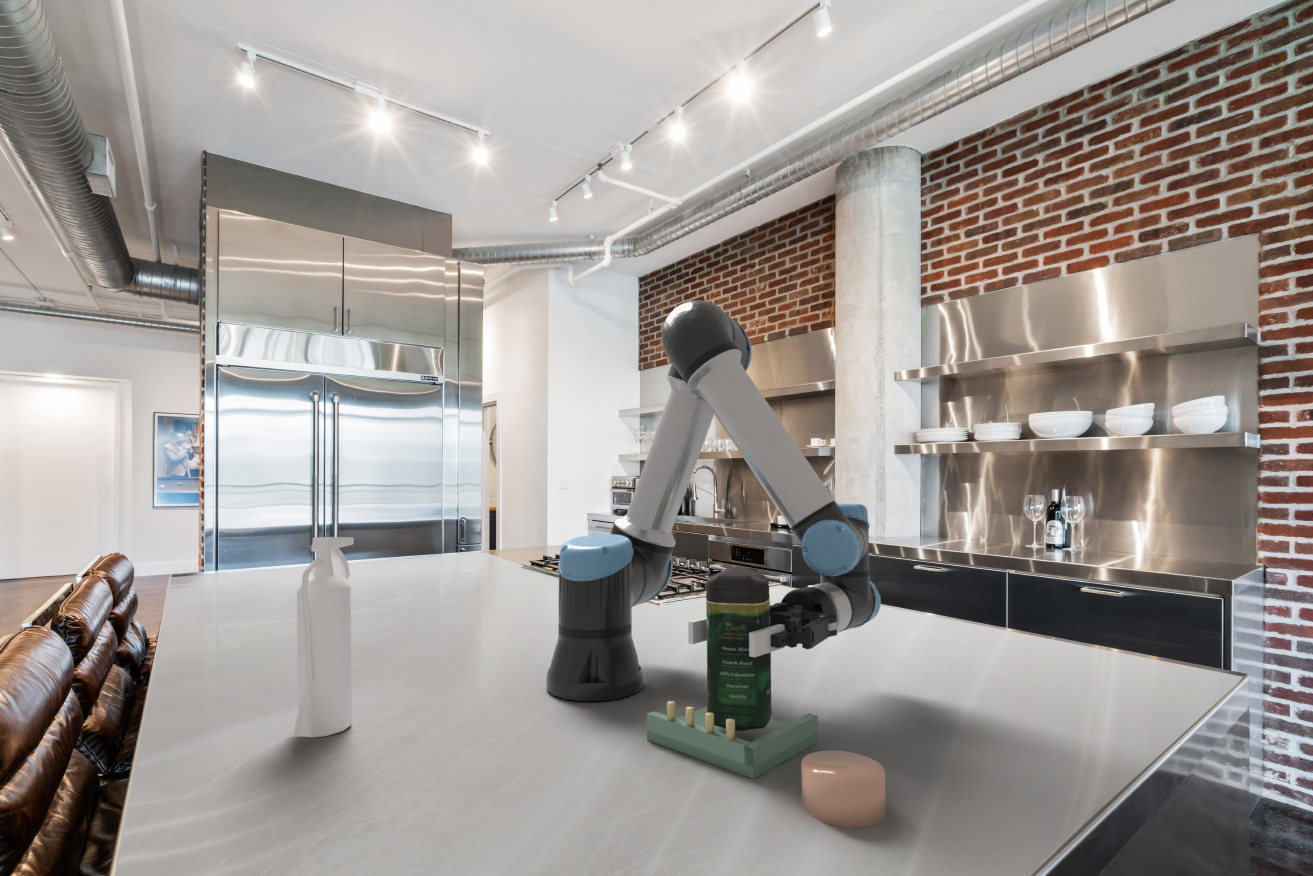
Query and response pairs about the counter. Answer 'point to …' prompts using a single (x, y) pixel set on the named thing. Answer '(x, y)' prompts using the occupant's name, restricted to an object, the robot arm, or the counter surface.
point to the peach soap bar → (843, 788)
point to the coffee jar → (737, 648)
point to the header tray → (732, 739)
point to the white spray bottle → (324, 642)
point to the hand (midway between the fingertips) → (720, 638)
